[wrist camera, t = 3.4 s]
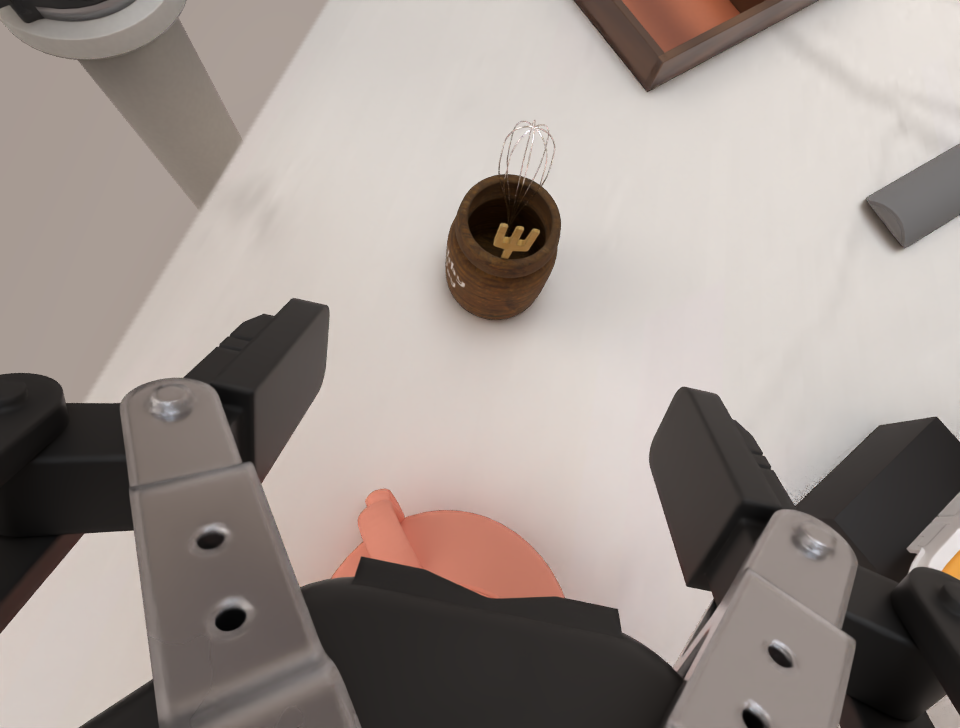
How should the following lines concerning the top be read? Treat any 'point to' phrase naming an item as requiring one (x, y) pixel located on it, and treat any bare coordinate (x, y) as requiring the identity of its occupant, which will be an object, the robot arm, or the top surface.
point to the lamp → (896, 499)
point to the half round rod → (921, 198)
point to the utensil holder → (503, 242)
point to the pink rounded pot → (452, 549)
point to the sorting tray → (680, 30)
